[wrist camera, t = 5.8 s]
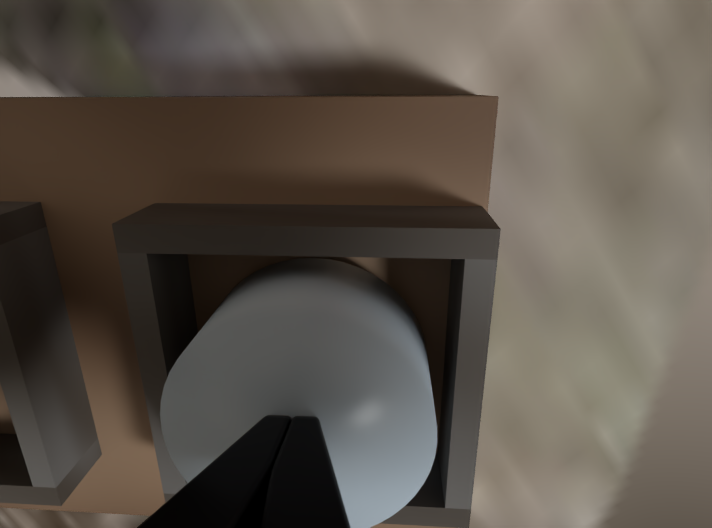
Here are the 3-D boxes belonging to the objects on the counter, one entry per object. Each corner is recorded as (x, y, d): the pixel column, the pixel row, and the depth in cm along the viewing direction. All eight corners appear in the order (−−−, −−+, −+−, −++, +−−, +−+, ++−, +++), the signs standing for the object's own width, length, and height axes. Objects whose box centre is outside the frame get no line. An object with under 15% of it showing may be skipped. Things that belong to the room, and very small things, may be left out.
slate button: (422, 452, 10) (430, 545, 8) (221, 443, 10) (179, 530, 8) (432, 260, 9) (446, 313, 7) (197, 255, 9) (138, 306, 7)
